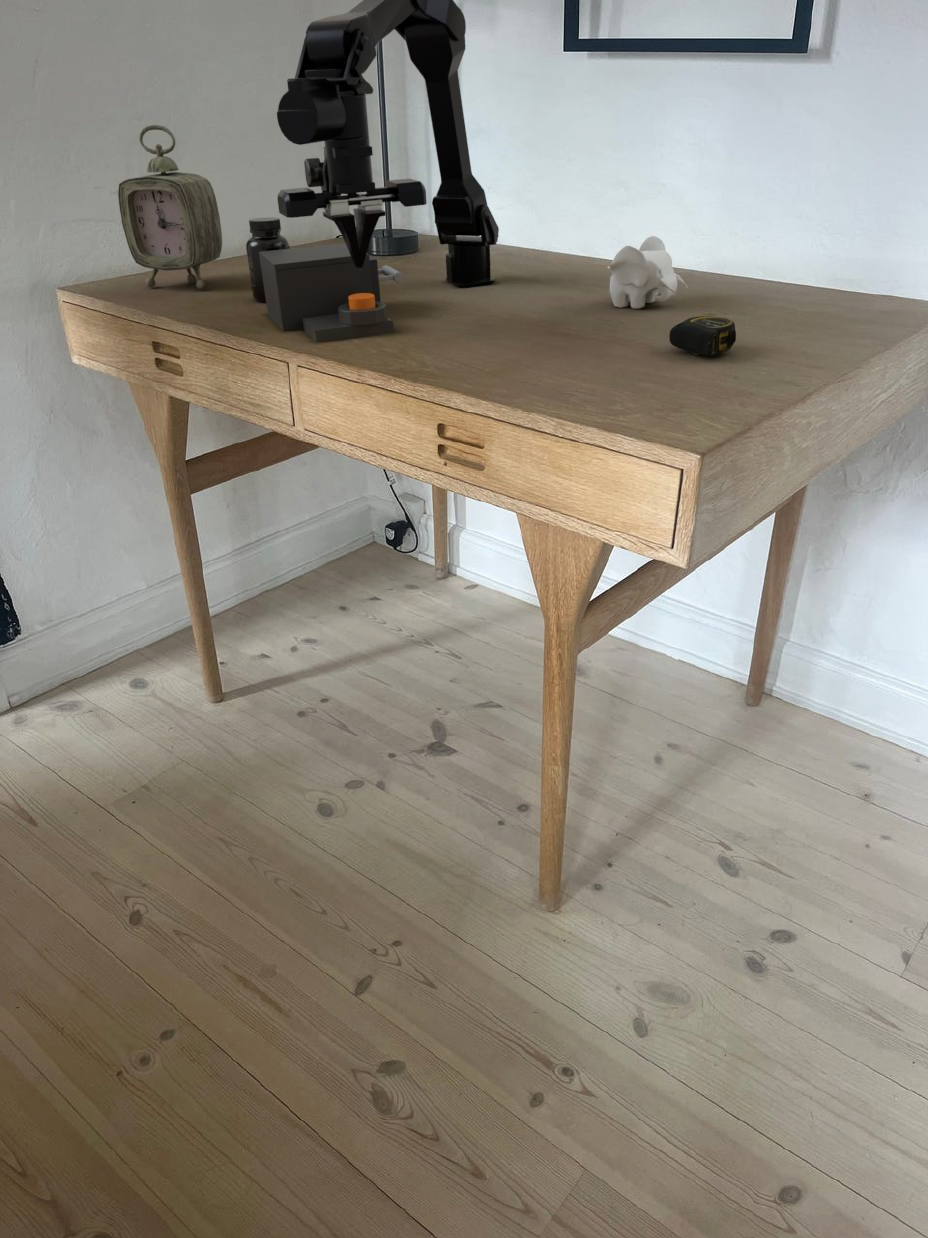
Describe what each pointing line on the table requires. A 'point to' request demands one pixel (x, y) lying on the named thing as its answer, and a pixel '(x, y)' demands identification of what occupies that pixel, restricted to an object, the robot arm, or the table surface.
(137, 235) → the tabletop clock
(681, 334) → the tape measure
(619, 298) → the elephant figurine
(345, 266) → the grey lidded box
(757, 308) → the table surface
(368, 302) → the button
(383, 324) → the pad
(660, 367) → the table surface
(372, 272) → the box with white handle
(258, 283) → the supplement bottle
